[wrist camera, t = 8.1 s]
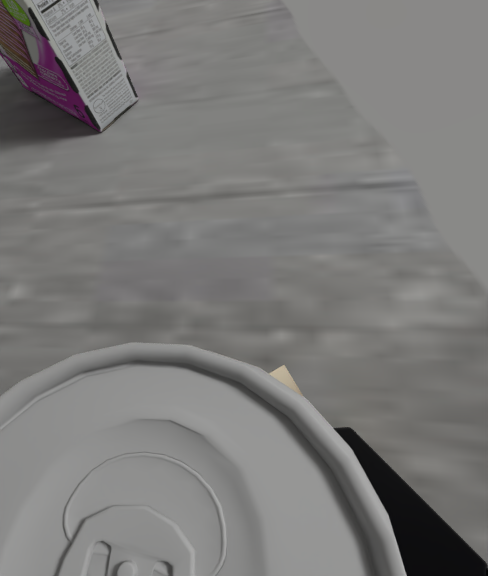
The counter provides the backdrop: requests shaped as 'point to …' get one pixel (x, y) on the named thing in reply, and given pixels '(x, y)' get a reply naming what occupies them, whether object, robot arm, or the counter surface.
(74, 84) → the candy bar box
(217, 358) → the beverage can
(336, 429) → the robot arm
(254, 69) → the counter surface
